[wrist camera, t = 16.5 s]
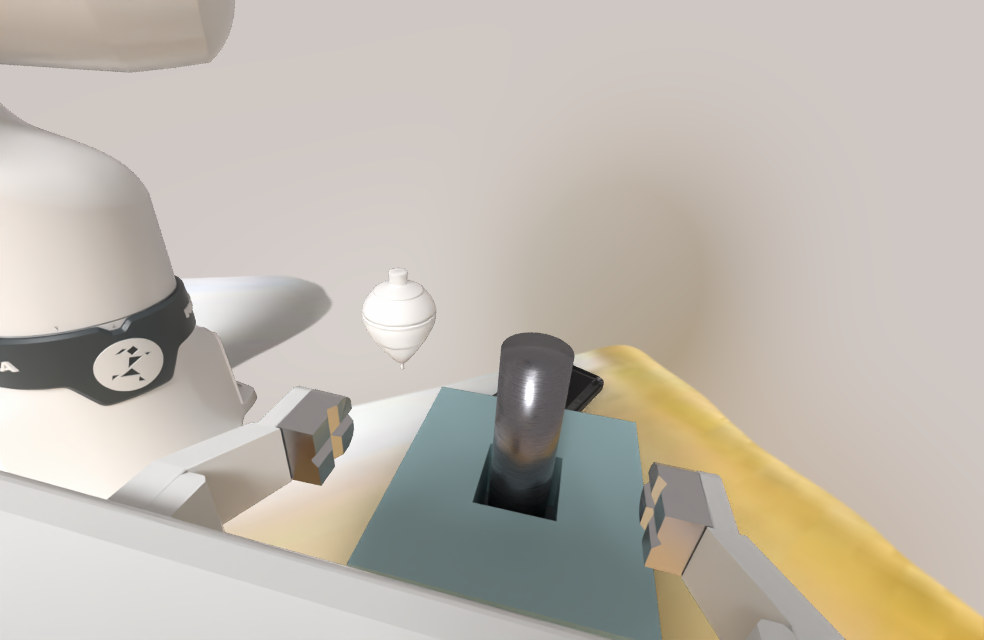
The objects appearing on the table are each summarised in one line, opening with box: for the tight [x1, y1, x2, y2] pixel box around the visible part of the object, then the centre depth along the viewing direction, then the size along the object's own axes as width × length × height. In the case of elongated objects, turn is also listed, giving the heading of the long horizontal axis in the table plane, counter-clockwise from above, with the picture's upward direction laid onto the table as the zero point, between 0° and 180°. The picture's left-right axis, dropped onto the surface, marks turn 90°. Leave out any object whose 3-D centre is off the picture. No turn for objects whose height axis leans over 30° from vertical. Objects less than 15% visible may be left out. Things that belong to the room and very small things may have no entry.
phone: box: [493, 365, 604, 412], centre depth 45 cm, size 8×1×15 cm
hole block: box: [347, 387, 662, 640], centre depth 30 cm, size 16×16×6 cm
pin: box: [488, 333, 574, 519], centre depth 27 cm, size 4×4×15 cm
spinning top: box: [362, 268, 436, 370], centre depth 46 cm, size 8×8×12 cm
